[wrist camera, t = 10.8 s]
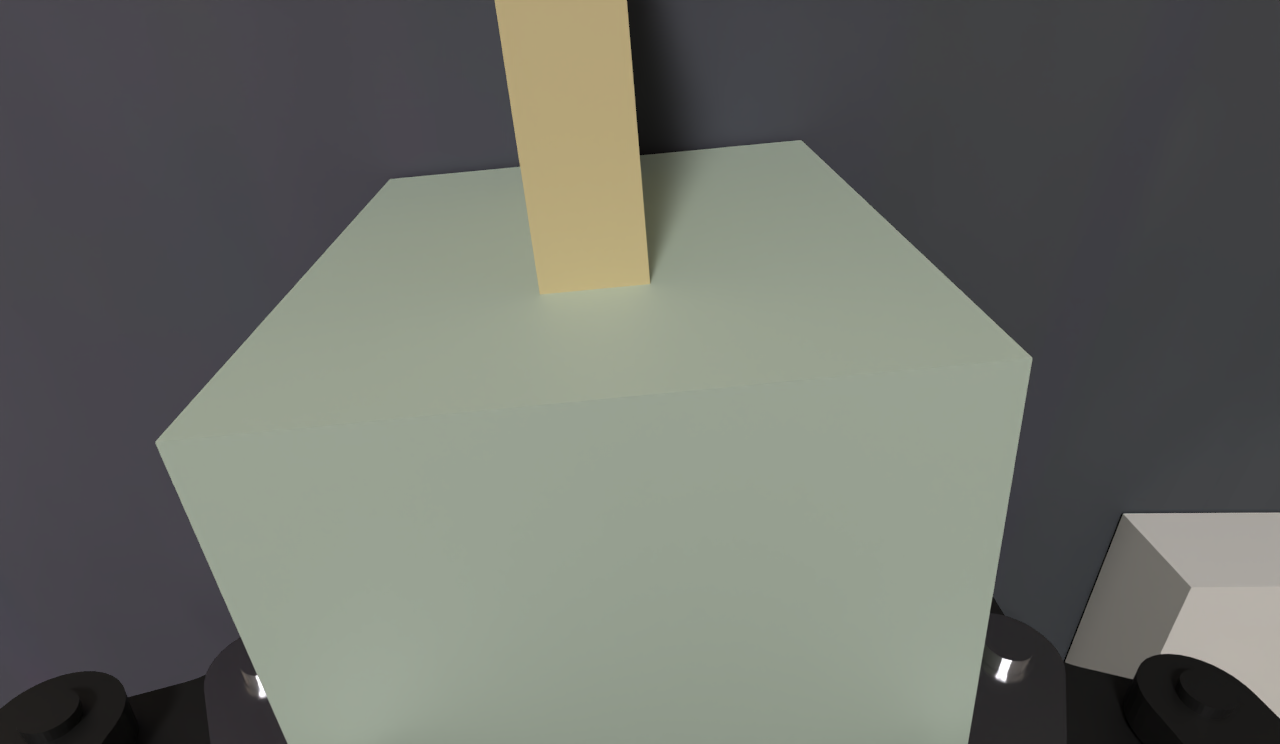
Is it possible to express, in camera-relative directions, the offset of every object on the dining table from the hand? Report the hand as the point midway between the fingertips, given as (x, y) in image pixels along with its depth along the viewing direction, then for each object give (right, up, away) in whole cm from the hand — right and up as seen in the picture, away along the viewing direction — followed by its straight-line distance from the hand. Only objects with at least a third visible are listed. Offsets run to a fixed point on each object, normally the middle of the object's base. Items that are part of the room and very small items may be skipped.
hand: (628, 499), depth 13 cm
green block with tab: (0, +2, 0) cm, 2 cm away
